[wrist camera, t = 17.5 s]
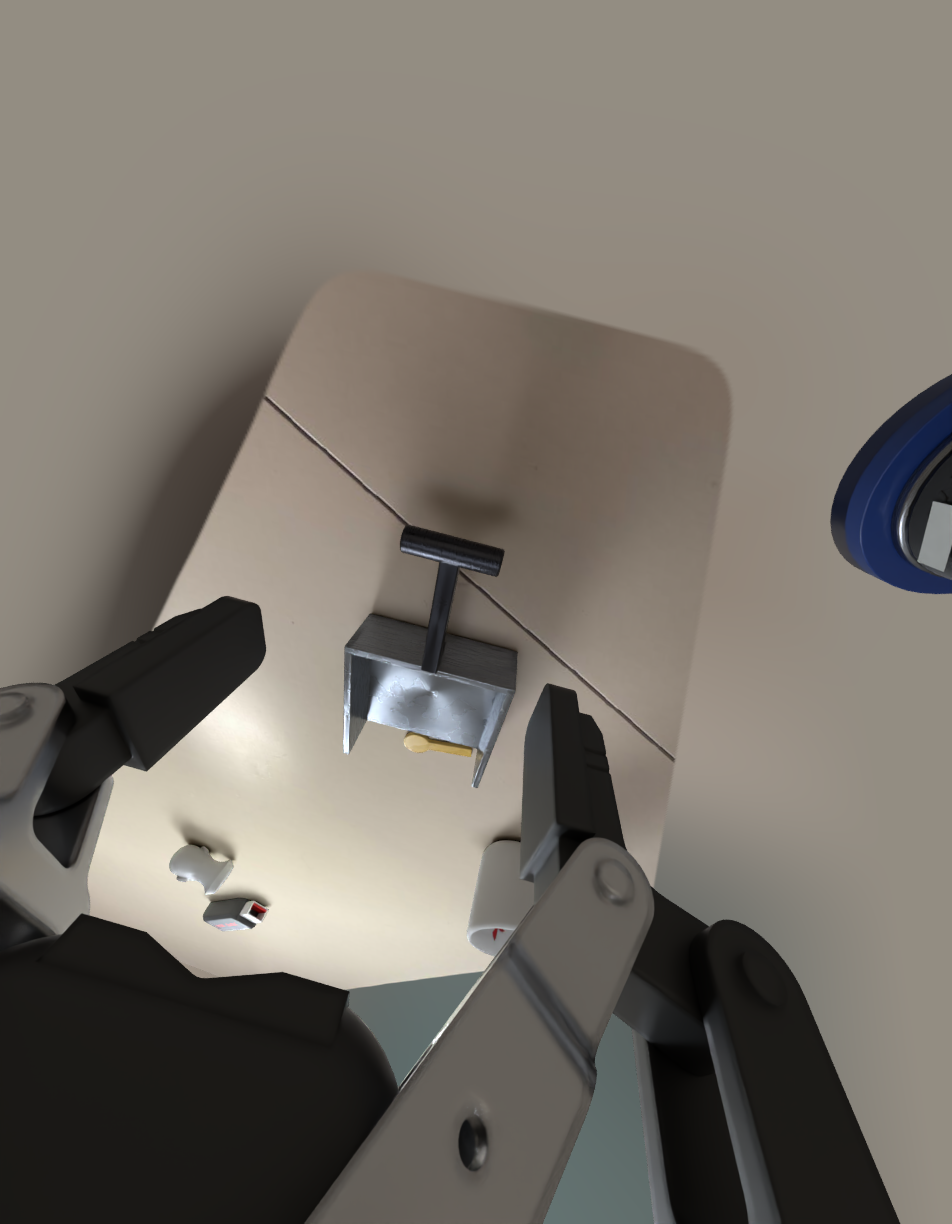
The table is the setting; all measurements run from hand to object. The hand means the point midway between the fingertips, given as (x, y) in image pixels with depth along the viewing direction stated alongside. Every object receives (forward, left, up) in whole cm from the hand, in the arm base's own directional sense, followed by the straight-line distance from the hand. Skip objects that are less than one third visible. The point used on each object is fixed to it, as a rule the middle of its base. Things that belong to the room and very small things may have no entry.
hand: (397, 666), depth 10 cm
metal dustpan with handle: (0, +9, -13) cm, 16 cm away
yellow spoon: (-1, +20, -13) cm, 24 cm away
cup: (-14, +35, -13) cm, 40 cm away
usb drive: (+25, +76, -13) cm, 82 cm away
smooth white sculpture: (+27, +57, -13) cm, 65 cm away
